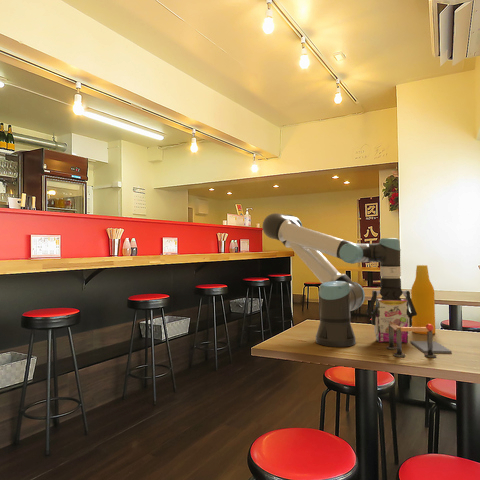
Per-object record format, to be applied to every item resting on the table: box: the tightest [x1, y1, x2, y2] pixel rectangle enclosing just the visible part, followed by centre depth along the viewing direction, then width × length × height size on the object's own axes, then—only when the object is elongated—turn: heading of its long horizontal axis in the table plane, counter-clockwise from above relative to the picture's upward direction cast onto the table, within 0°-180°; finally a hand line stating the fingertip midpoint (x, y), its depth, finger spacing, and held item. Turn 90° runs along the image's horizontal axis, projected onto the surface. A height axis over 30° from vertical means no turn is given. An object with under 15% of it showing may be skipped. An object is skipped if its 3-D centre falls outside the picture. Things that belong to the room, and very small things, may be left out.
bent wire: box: [385, 322, 437, 359], centre depth 137 cm, size 14×14×11 cm
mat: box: [410, 340, 453, 354], centre depth 142 cm, size 9×15×1 cm, turn 173°
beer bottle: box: [410, 264, 437, 335], centre depth 170 cm, size 9×9×29 cm
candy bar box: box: [375, 298, 409, 344], centre depth 153 cm, size 11×5×16 cm, turn 84°
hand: (391, 333), depth 153 cm, fingers closed on candy bar box, 11 cm apart
